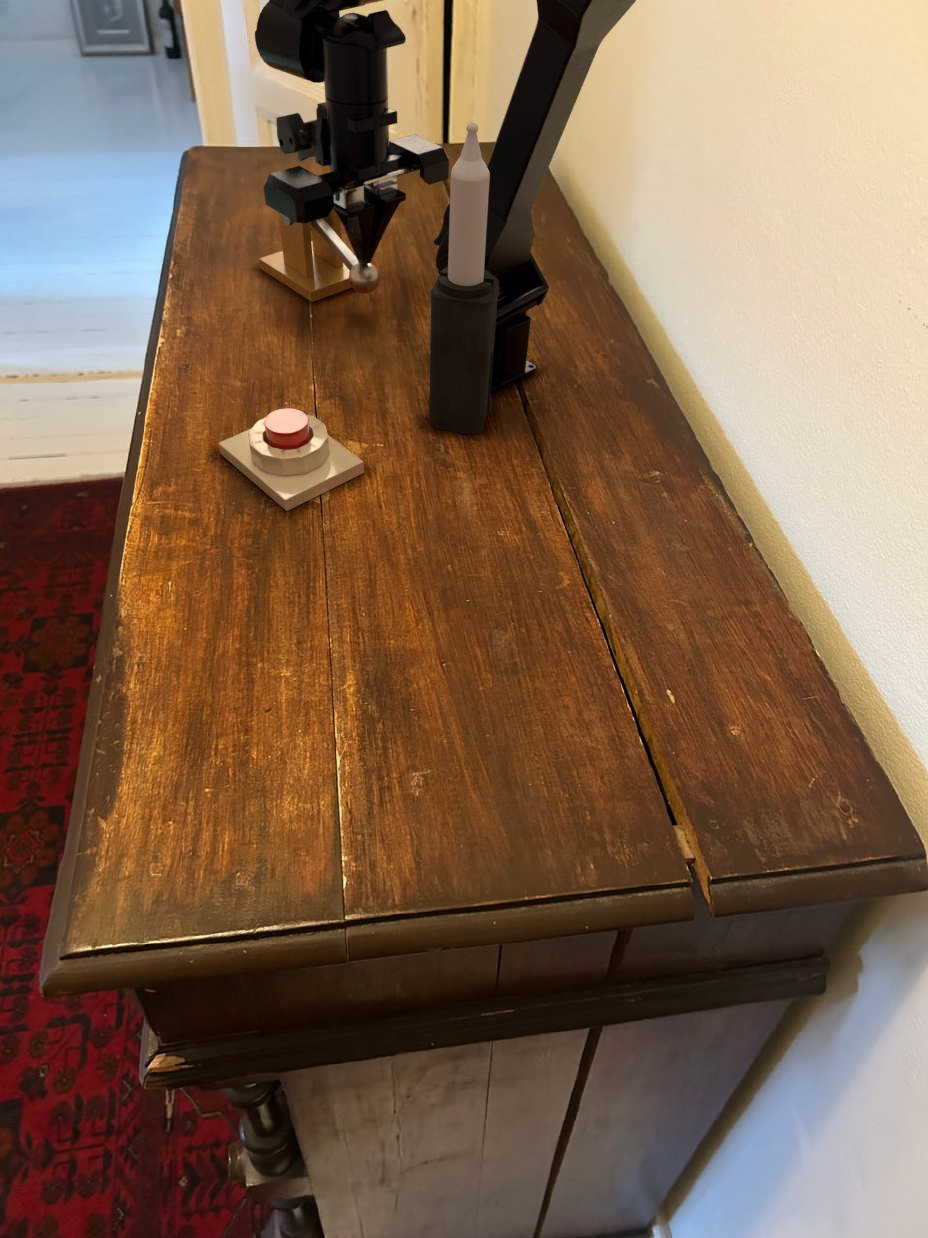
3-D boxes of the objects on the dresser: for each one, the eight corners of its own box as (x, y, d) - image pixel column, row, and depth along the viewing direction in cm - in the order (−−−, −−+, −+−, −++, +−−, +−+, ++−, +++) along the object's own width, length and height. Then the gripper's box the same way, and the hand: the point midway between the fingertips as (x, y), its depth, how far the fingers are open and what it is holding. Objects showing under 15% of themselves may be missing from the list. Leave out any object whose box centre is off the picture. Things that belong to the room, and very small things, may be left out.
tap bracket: (369, 280, 98) (366, 200, 92) (311, 302, 94) (304, 220, 88) (317, 249, 103) (310, 170, 96) (259, 268, 99) (249, 188, 92)
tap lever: (381, 294, 94) (388, 272, 91) (358, 303, 92) (364, 281, 89) (311, 211, 96) (315, 186, 93) (287, 218, 94) (291, 193, 91)
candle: (481, 436, 79) (501, 137, 60) (426, 427, 79) (429, 129, 61) (491, 405, 82) (513, 114, 64) (438, 397, 83) (445, 106, 64)
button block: (364, 472, 74) (362, 443, 72) (286, 511, 71) (282, 482, 68) (296, 420, 79) (293, 391, 77) (220, 453, 75) (214, 424, 73)
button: (318, 439, 73) (317, 422, 72) (283, 456, 71) (280, 438, 70) (293, 420, 75) (291, 403, 73) (258, 436, 73) (255, 418, 72)
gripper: (381, 56, 87) (384, 214, 99) (219, 89, 78) (244, 259, 90) (455, 85, 82) (450, 249, 93) (291, 125, 73) (307, 301, 84)
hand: (364, 262), depth 90 cm, fingers closed, pressing on tap lever
